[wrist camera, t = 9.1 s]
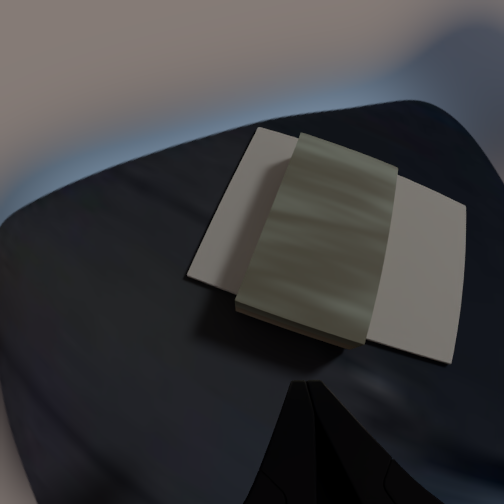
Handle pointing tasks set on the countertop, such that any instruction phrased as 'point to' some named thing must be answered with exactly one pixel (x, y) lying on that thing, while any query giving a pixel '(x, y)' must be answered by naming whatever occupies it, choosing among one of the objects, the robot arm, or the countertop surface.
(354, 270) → the layered block
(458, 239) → the mat
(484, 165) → the countertop surface
